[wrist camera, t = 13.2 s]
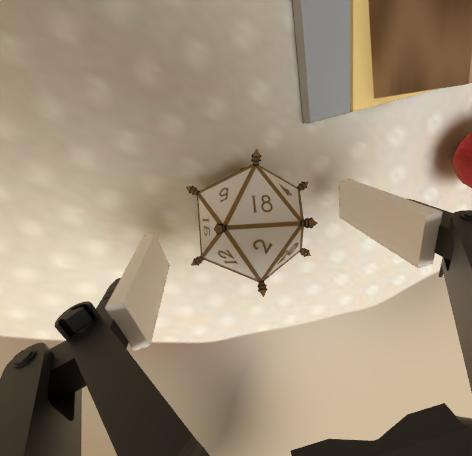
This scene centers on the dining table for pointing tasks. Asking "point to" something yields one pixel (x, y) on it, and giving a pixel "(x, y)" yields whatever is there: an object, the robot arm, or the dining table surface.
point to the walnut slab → (420, 45)
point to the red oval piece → (464, 160)
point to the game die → (251, 222)
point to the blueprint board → (335, 58)
